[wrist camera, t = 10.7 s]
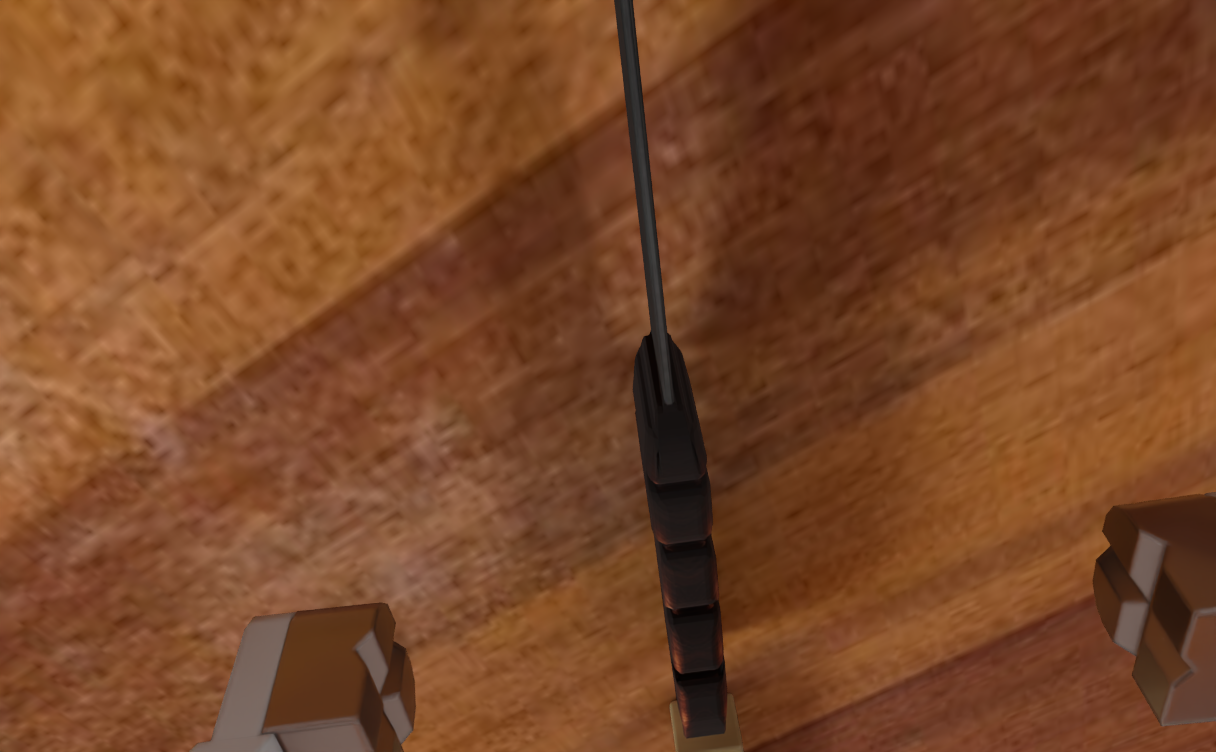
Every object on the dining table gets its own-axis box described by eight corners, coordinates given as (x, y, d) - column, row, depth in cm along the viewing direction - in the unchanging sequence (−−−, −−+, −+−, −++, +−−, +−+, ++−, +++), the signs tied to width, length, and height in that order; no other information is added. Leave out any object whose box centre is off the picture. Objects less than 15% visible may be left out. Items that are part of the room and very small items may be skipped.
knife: (533, -340, 11) (537, -331, 9) (619, -353, 11) (645, -348, 9) (666, 647, 21) (685, 779, 19) (711, 641, 21) (735, 772, 19)
